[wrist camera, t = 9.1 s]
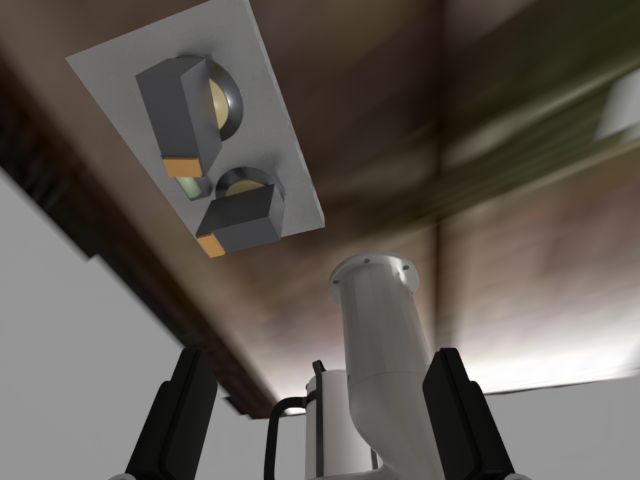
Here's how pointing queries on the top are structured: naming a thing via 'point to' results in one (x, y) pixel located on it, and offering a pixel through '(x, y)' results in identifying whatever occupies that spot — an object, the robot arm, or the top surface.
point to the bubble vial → (194, 187)
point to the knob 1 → (184, 114)
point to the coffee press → (324, 429)
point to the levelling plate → (243, 97)
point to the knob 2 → (242, 218)
